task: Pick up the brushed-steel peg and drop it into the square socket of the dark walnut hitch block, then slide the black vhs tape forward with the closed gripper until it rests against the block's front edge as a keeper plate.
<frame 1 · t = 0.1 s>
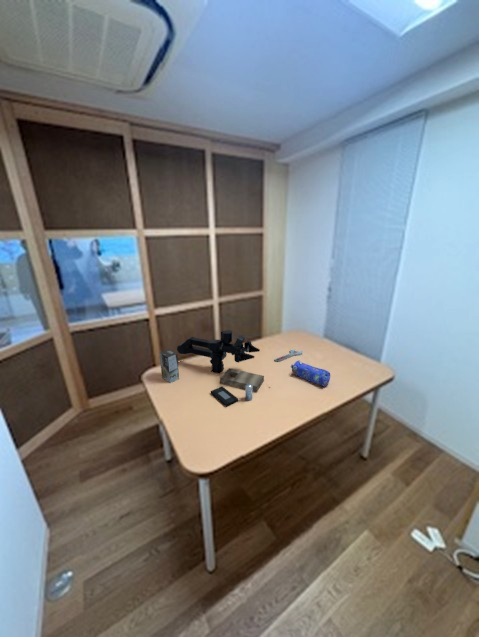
hand: (257, 353, 145), 17 cm above the table, tool horizontal, fingers open, 9 cm apart
hitch block: (240, 381, 148), on the table
adjustable wrench: (288, 356, 180), on the table
pencil case: (309, 379, 151), on the table
steel peg: (248, 398, 133), on the table
vhs tape: (224, 398, 134), on the table
coffee box: (170, 378, 151), on the table
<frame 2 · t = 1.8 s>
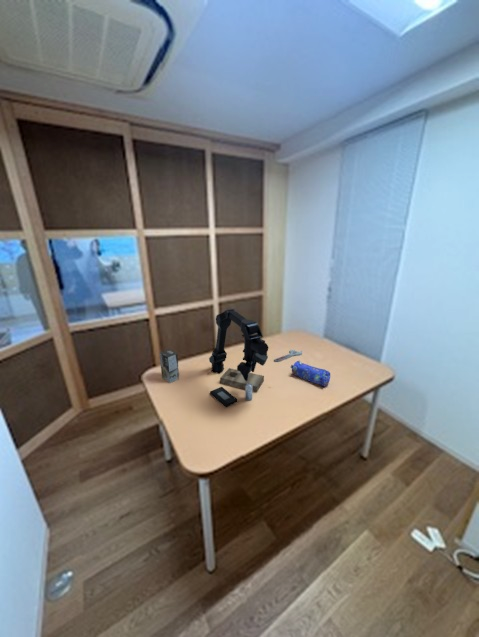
hand: (249, 376, 129), 13 cm above the table, tool pointing down, fingers open, 9 cm apart
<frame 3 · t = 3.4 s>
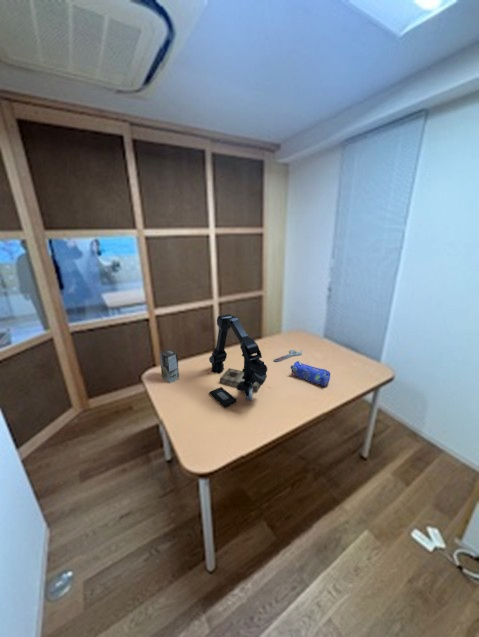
hand: (248, 393, 132), 3 cm above the table, tool pointing down, fingers closed on steel peg, 4 cm apart
steel peg: (248, 398, 133), on the table, touching gripper
everything else where it was.
when the fingers open (5 cm above the table, at t = 7.9 s): steel peg drops 2 cm, resting in hitch block.
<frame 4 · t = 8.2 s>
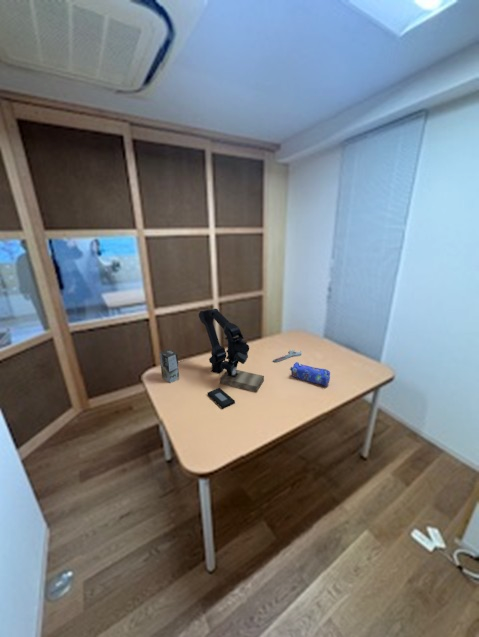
hand: (232, 373, 148), 4 cm above the table, tool pointing down, fingers open, 6 cm apart
steel peg: (232, 379, 149), resting in hitch block
vhs tape: (221, 400, 132), on the table
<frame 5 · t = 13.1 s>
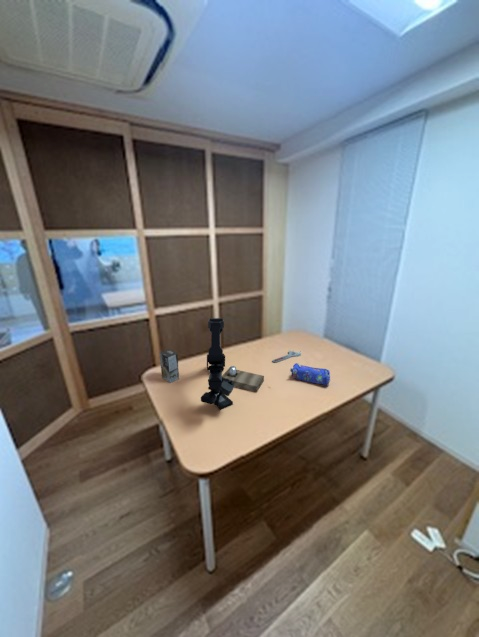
hand: (216, 404, 125), 1 cm above the table, tool pointing down, fingers closed
vhs tape: (219, 401, 131), on the table, touching gripper
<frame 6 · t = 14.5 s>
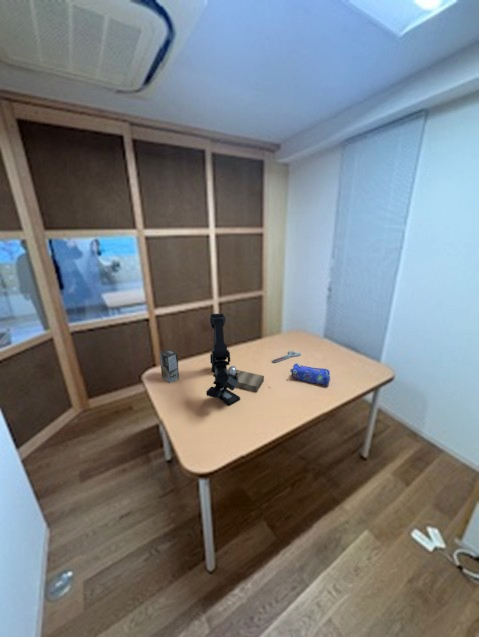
hand: (220, 399, 130), 1 cm above the table, tool pointing down, fingers closed
vhs tape: (225, 397, 134), on the table, touching gripper
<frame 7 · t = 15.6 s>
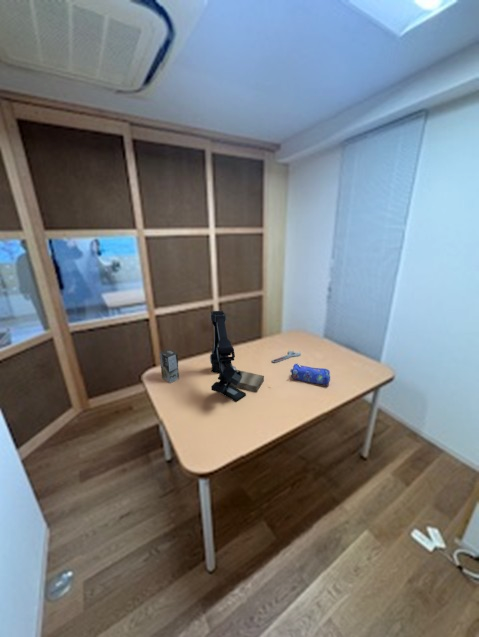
hand: (225, 394, 134), 1 cm above the table, tool pointing down, fingers closed
vhs tape: (231, 394, 137), on the table
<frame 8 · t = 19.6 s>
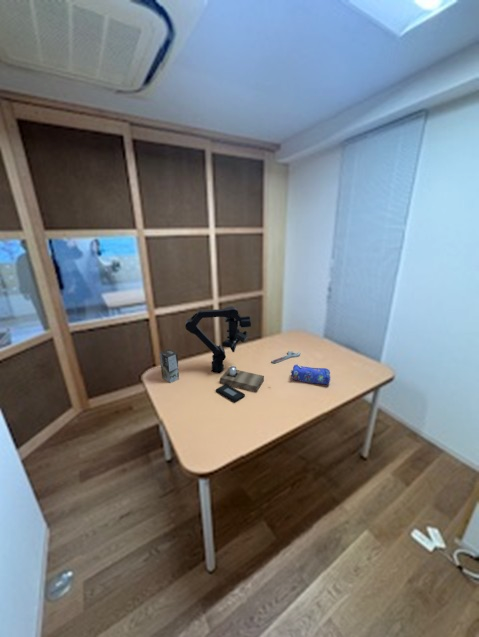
hand: (233, 351, 157), 12 cm above the table, tool pointing down, fingers closed
at the end: steel peg 0.1 cm from the target spot on the hitch block, point 0.0 cm above the hitch block's base; steel peg tilted 2°; vhs tape inside the target area (3.6 cm from its centre), on the table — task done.
